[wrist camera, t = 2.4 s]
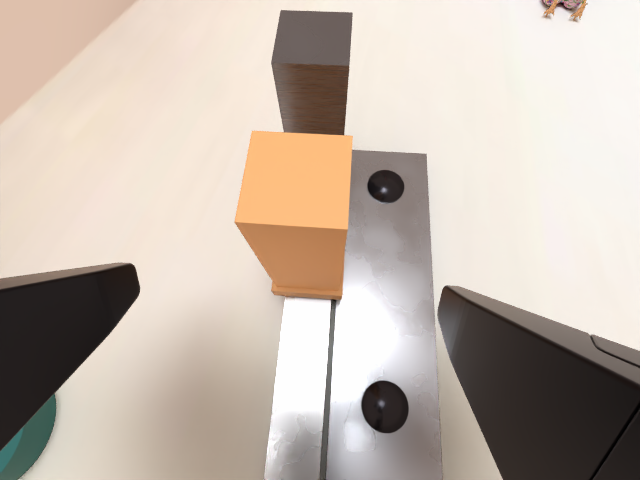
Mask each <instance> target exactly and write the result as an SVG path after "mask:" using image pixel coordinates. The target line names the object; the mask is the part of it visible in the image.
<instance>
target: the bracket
mask: <svg viewBox="0 0 640 480" xmlns="http://www.w3.org/2000/svg"><path fill="white" fill-rule="evenodd" d="M55 416H56V399H55V393H54V394H53V395H52V397H51V398H50V399H49V400H48V401H47V402H46V403H45V404H44V405H43V406H42V407H41V408H40V409H39V411H38V412H37V413H36V414H35V415H34V416H33V417H32V418H31V419H30V420H29V421H28V422H27V423H26V424H25V426H24V427H23V428H22V429H21V430H20V431H19V432H18V433H17V434H16V435H15V436H14V437H13V438H12V440H11V441H10V442H9V443H8V444H7V445H6V446H5V447H4V448H3V449H2V450H1V451H0V480H17V479H19V478H20V477H21V476H22V475H23V474H24V473H25V472H26V471H28V469H29V468H30V467H31V466H32V465H33V464H34V463H35V461H36V460H37V459H38V457H39V456H40V454H41V453H42V451H43V450H44V448H45V446H46V444H47V442H48V440H49V438H50V435H51V432H52V430H53V426H54V422H55Z"/></svg>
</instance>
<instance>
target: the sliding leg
mask: <svg viewBox="0 0 640 480" xmlns="http://www.w3.org/2000/svg"><path fill="white" fill-rule="evenodd" d="M352 138H353V136H345V135H325V134H306V133H286V132H266V131H252V134H251V139H250V144H249V149H248V154H247V160H246V165H245V170H244V175H243V180H242V186H241V191H240V196H239V201H238V206H237V212H236V217H235V224H236V225H237V227H238V228H239V230H240V231H241V233H242V234H243V236H244V238H245V239H246V241H247V242H248V244H249V245H250V247H251V248H252V250H253V251H254V253H255V255H256V256H257V258H258V259H259V261H260V262H261V264H262V265H263V267H264V268H265V270H266V272H267V273H268V275H269V276H270V278H271V279H272V281H273V282H272V289H271V291H272V292H273V294H274V295H281V296H294V297H308V298H321V299H334V300H342V294H343V275H344V256H345V244H346V238H347V232H348V217H349V197H350V177H351V158H352Z"/></svg>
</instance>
